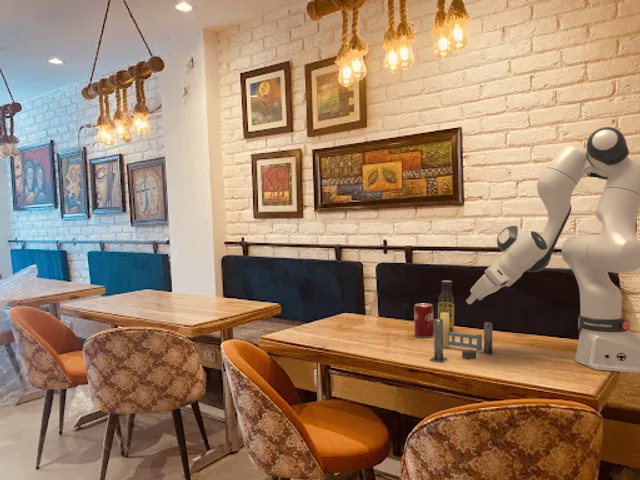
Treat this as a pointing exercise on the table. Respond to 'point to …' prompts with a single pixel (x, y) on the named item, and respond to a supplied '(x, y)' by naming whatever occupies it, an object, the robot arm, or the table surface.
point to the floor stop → (469, 354)
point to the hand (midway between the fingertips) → (473, 300)
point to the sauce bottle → (447, 302)
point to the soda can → (424, 320)
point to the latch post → (438, 341)
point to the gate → (446, 335)
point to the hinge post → (488, 340)
